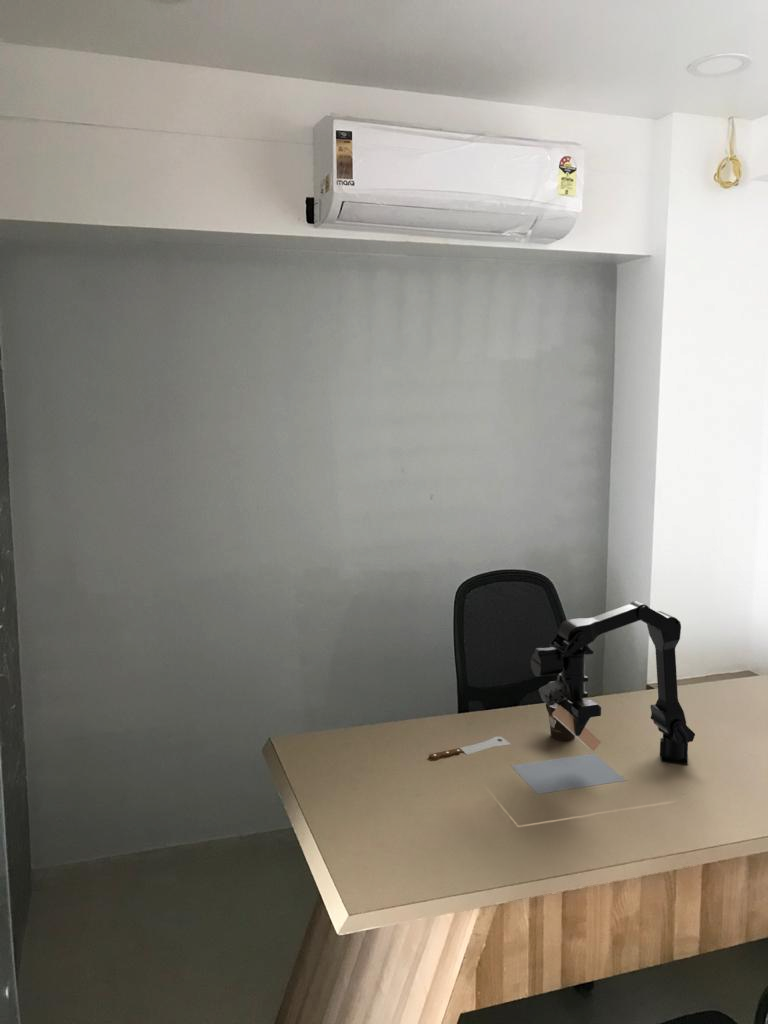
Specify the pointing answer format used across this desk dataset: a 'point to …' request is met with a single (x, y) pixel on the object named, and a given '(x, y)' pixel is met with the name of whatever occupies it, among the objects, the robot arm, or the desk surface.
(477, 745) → the kitchen cleaver
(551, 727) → the coffee mug
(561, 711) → the tall peach block
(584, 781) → the felt mat
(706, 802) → the desk surface
